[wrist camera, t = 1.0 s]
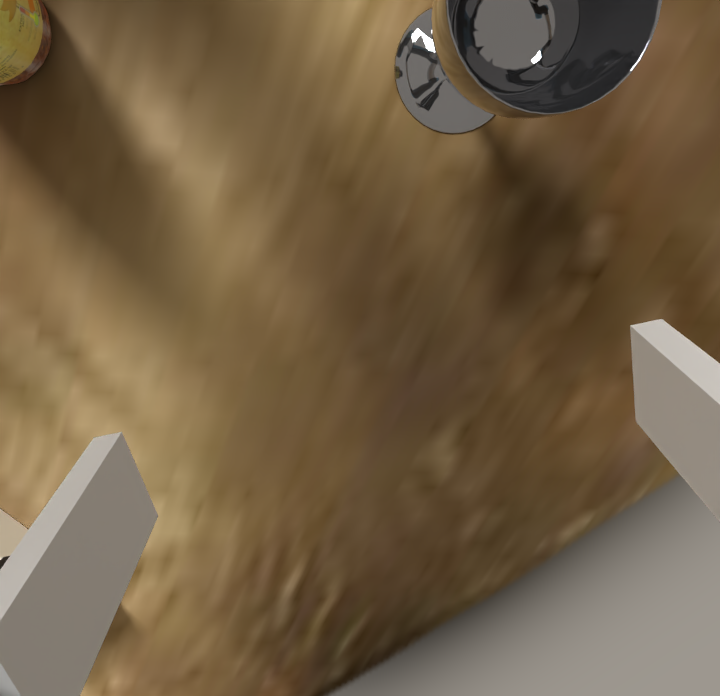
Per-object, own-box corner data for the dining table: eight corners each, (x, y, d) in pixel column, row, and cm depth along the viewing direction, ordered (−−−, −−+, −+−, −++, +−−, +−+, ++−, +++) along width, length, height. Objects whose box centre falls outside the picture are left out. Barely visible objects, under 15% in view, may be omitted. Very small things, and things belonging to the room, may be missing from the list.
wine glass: (388, -9, 36) (451, -141, 21) (525, -4, 36) (677, -128, 22) (386, 140, 37) (442, 112, 23) (516, 141, 38) (649, 116, 24)
